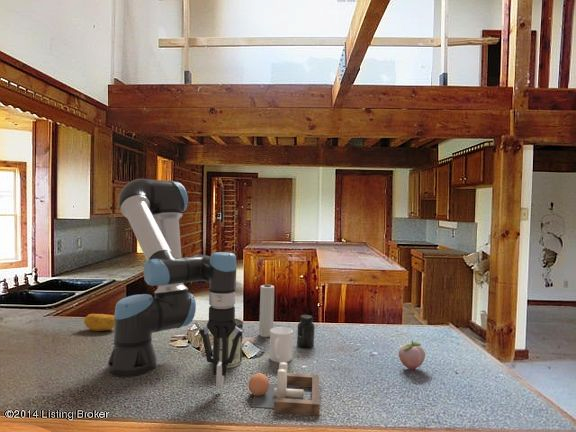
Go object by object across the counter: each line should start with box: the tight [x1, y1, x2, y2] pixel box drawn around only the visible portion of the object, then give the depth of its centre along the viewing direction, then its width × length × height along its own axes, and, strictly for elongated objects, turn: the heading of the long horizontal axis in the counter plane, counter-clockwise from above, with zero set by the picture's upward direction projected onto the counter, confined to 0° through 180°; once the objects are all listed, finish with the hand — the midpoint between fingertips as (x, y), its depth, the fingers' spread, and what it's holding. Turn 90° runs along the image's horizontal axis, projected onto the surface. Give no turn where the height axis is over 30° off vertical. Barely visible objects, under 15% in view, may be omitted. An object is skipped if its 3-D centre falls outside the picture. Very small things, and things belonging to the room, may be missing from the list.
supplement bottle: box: [296, 314, 316, 350], centre depth 150 cm, size 7×7×12 cm
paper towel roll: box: [258, 284, 275, 338], centre depth 162 cm, size 7×6×21 cm
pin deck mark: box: [250, 383, 298, 410], centre depth 109 cm, size 12×14×1 cm
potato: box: [83, 313, 115, 332], centre depth 161 cm, size 7×14×7 cm, turn 84°
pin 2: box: [276, 368, 286, 398], centre depth 106 cm, size 2×2×8 cm
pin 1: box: [278, 362, 288, 388], centre depth 111 cm, size 2×2×8 cm
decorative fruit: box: [398, 340, 426, 371], centre depth 130 cm, size 9×8×10 cm
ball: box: [248, 372, 270, 396], centre depth 109 cm, size 6×6×6 cm
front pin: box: [274, 388, 305, 400], centre depth 108 cm, size 2×2×8 cm
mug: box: [269, 326, 294, 364], centre depth 135 cm, size 12×8×10 cm
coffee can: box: [212, 318, 244, 369], centre depth 132 cm, size 10×10×14 cm
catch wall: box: [273, 372, 321, 417], centre depth 108 cm, size 12×18×3 cm, turn 176°
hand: (219, 385), depth 110 cm, fingers closed
